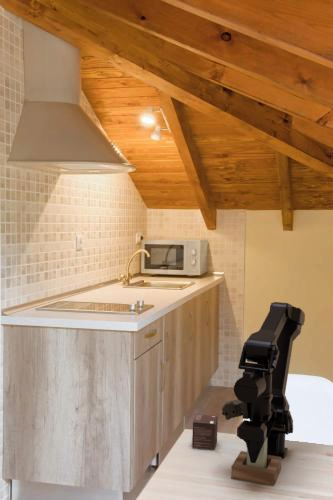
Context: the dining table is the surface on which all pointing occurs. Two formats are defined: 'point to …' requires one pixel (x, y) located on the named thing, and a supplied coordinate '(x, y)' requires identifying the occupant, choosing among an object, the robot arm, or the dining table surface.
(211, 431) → the box
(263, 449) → the peg
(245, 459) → the socket block
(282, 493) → the dining table surface
